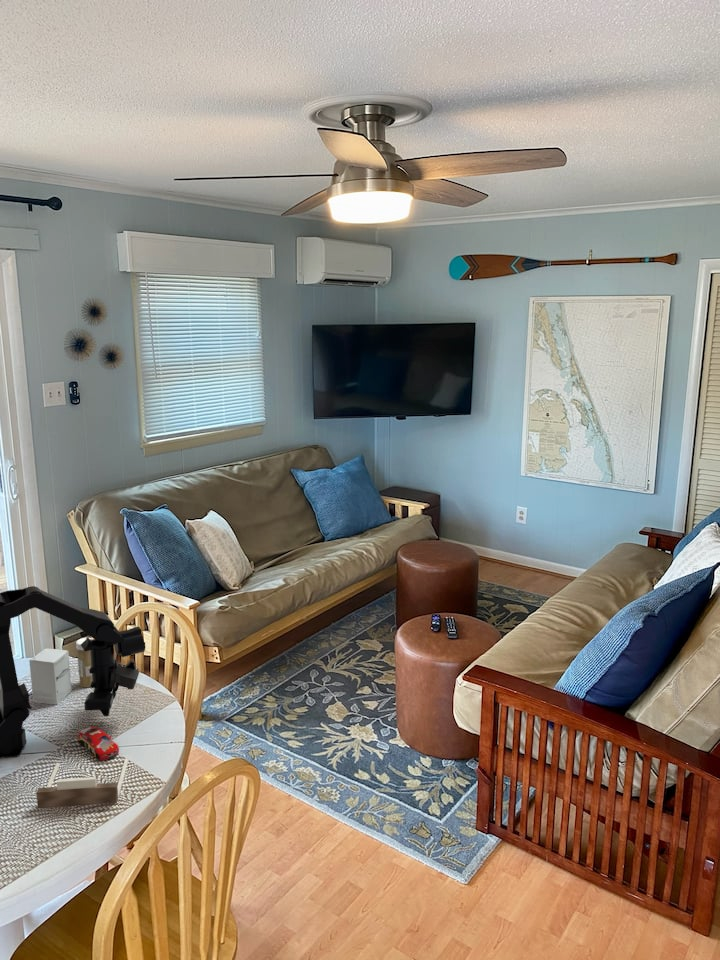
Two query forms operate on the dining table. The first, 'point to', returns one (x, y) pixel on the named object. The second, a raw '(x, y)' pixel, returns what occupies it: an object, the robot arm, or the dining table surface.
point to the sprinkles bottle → (84, 664)
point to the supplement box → (50, 676)
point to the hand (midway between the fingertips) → (106, 715)
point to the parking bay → (78, 791)
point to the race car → (98, 743)
